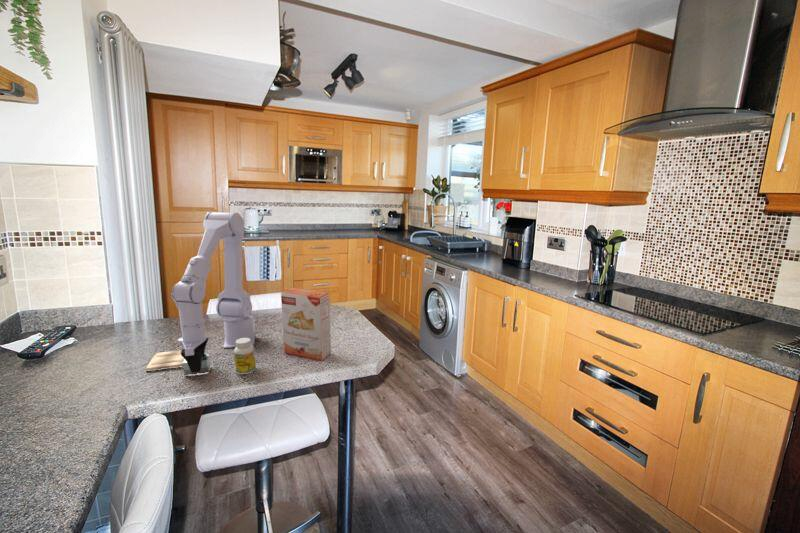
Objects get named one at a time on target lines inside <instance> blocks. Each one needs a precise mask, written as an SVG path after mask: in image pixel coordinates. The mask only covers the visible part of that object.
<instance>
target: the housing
mask: <svg viewBox="0 0 800 533" xmlns="http://www.w3.org/2000/svg"><path fill="white" fill-rule="evenodd" d="M210 366H212V365H211V357H210V353H204V354H202V358H201V369H200V372H194V373H192V372H191V370H190V368H189V365H188V363H187V361H186V360H184V362H183V367H184V368H183V375H184V376H185V375H188V374H197V373H205V372H209V373H210V371H209V369H210V370H211V368H210Z"/></svg>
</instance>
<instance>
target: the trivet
mask: <svg viewBox="0 0 800 533" xmlns="http://www.w3.org/2000/svg"><path fill="white" fill-rule="evenodd" d="M181 350H182V349H179V350H171V351H162V352H155V353H154V355H153V357H152V358H151V359H150V361H149V363H148V364H147V366H146V367H145V372H146V371H147V370H154V369H161V368H169V367H179V366H183V362H184V360H185V359H184V357H182V356H181Z"/></svg>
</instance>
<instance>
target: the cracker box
mask: <svg viewBox="0 0 800 533" xmlns="http://www.w3.org/2000/svg"><path fill="white" fill-rule="evenodd" d="M280 295H281V296H280V298H281V299H280V300H281V301H280V302H281V312H282V313H281V315H282V316H281V317H282V331H283V348H284V349H283V350H284V354H287V355H288V354H289V355H293V356H297V357H302V358H307V359H311V360H315V361H320V362H322V361H323V360H325V359H326V358H327V357H328V356H330V354H331V353H332V350H331V349H332V345H331V312H330V310H331V309H330V308H331V306H330V293H329V292H325V291H318V290H313V289H306V288H305V289H304V288H299V287H293V286H292V287H290V288H287V289H284V290H283V291H281V292H280Z"/></svg>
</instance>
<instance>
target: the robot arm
mask: <svg viewBox="0 0 800 533" xmlns="http://www.w3.org/2000/svg"><path fill="white" fill-rule="evenodd" d="M202 225H203V229H204V233H203V236H202V239H201V242H200V245H199V248H198V251H197V254H196V256H194V257H191V258H190V260H189V261H188V264H187V267H185V271H184V273H183V275H182V276H181V279H180V281H178V282H177V283H175V284H174V285H173V287H172V290H171V294H170V296H171V299H172V300H173V302H174V304H175V308H177V310H178V316H179V322H180V323H179V325H180V331H181V337H179V338H178V339H177V344H182V345H183V347H184V349H180V350H181V356H182V357H184V359H185V360H186V361H187V363H188V365H189V368H190V370H191V372H192V373H194V372H200V369H201V358H202V354H205V350H206V345H207V343H208V341H209V337H207V335H206V330H205V321H204V310H203V302H202V301H203V300H204V298H205V297H206V294H207V292H206V290H207V289H206V287H207V278H208V276H209V273H210V271H211V269H212V266H213V265H212V263H211V261H210V260H211V258H212V256H213V255H214V253H215V250H216V249H217V247H218V245H219V243H220V241H221V240H222V241H223V242H224V243H223V244H224V290H222V291H221V292H220V293H219V294H218V295H217V303H216V306H215V310H216V314H217V316H219V317H220V319H221V320H223V329H224V336H225V337H224V338H225V339H224V343H223V346H222V347H223V349H230V348H231V349H232V348H236V340H238V339H240V338H250V339H251V345H252V346H254V345H255V341H256V328H255V318H254V316H253V315H251V314H252V312H253V305H252V301H251V294H250V293H248V292H247V291H246V290H245V289H243V239H244V237H245V220H244V218H243V217H242V215H241V214H240V213H239V212H219V211H218V212H215V211H208V212H207V213H206V214H205V216H204V220H203V222H202Z"/></svg>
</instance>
